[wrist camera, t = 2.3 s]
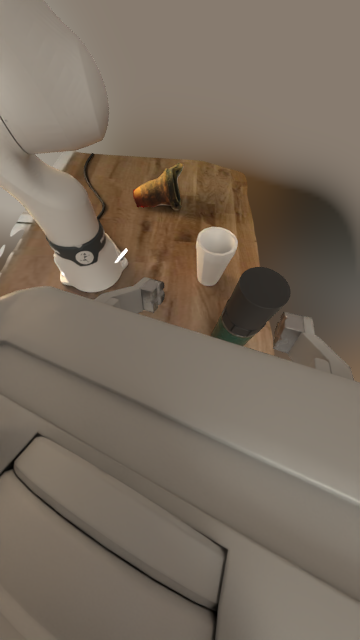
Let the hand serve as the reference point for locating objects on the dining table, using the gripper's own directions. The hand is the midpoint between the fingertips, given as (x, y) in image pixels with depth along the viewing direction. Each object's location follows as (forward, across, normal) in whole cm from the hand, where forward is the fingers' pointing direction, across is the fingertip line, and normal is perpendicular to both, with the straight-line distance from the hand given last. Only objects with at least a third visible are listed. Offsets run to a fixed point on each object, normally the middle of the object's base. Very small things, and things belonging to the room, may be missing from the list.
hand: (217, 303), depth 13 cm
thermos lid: (+16, -2, +14) cm, 21 cm away
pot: (+63, +35, +7) cm, 72 cm away
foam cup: (+39, +10, +20) cm, 44 cm away
